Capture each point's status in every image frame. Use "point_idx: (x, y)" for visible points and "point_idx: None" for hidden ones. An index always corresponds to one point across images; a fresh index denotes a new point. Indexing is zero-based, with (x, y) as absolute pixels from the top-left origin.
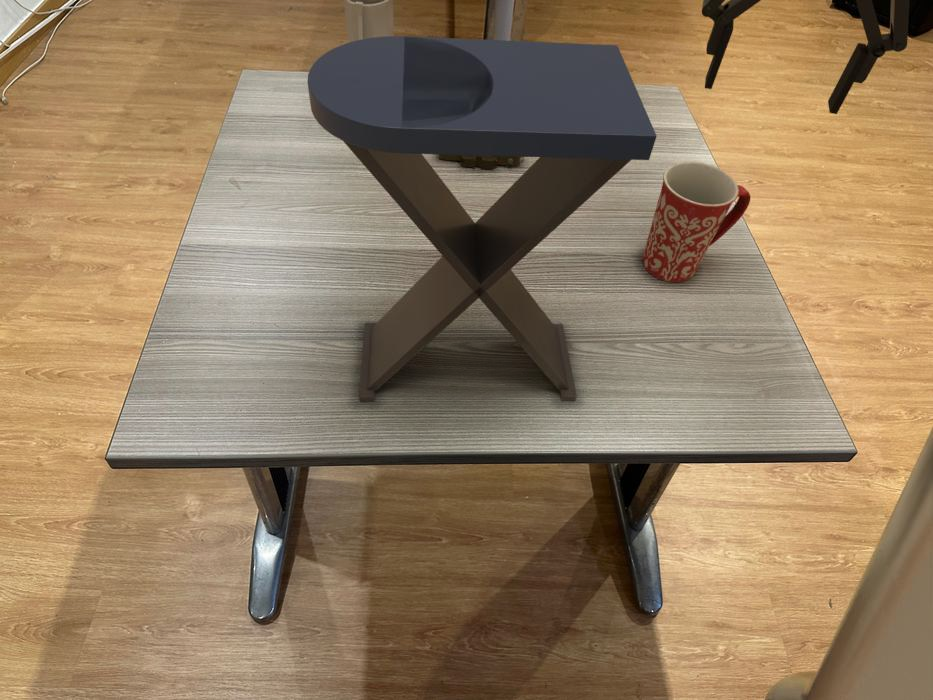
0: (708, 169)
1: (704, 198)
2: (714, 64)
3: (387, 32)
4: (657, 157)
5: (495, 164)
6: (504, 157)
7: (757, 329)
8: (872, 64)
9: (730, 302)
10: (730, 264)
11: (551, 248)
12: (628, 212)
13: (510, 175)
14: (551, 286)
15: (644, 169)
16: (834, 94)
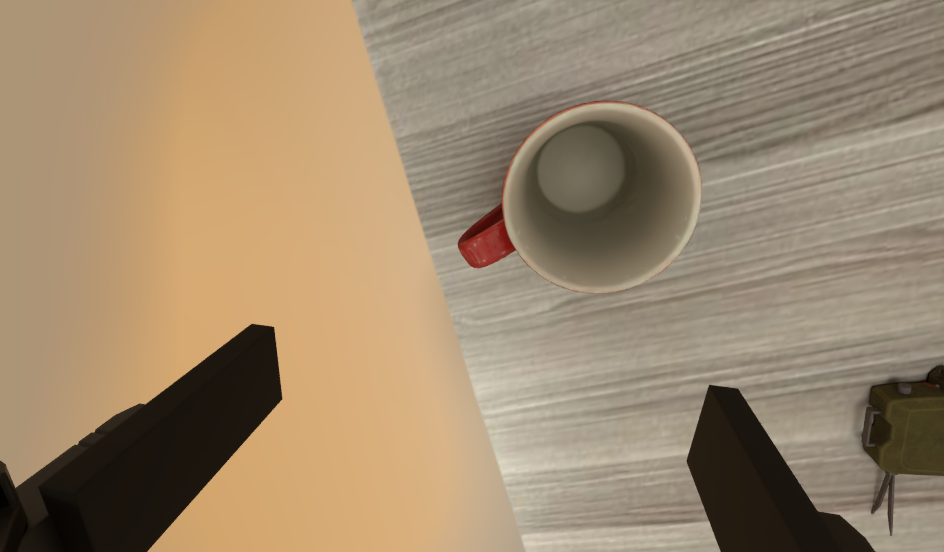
0: (568, 278)
1: (554, 241)
2: (777, 460)
3: None
4: (582, 455)
5: (935, 377)
6: (923, 393)
7: (422, 33)
8: (56, 462)
9: (468, 94)
10: (465, 201)
11: (824, 151)
12: (647, 298)
13: (894, 357)
14: (838, 25)
15: (608, 421)
16: (254, 395)
